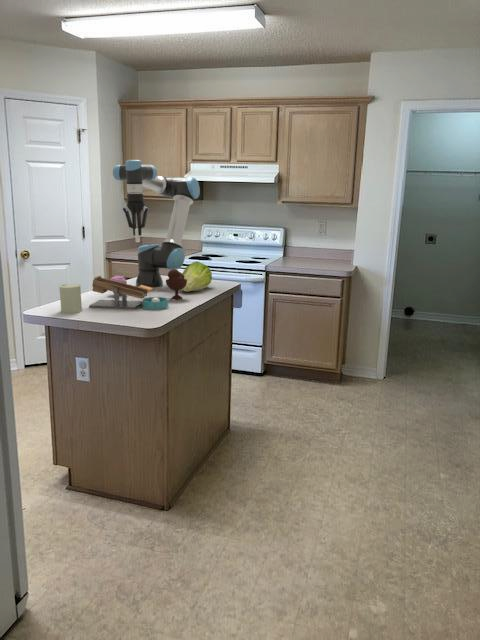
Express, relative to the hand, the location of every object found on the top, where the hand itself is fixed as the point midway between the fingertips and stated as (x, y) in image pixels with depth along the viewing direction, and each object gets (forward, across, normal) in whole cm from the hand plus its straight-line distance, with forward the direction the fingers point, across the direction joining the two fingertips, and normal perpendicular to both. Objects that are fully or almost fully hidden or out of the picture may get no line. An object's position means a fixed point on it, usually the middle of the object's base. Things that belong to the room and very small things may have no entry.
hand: (137, 242), depth 254 cm
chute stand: (+27, -5, -22) cm, 35 cm away
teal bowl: (+27, +14, -22) cm, 38 cm away
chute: (+23, -4, -17) cm, 29 cm away
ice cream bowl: (+28, +19, -2) cm, 34 cm away
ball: (+25, +14, -22) cm, 36 cm away
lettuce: (+29, +24, +21) cm, 43 cm away
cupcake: (+28, -13, +3) cm, 31 cm away
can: (+27, -22, -35) cm, 49 cm away
